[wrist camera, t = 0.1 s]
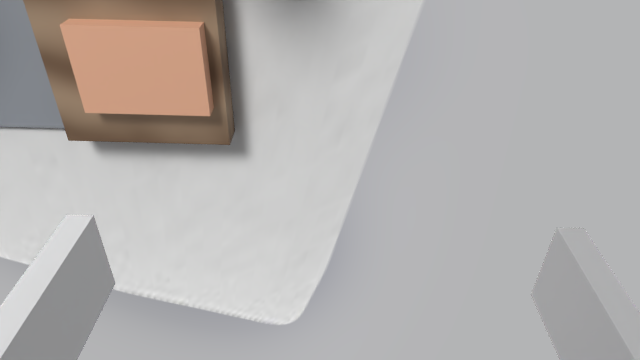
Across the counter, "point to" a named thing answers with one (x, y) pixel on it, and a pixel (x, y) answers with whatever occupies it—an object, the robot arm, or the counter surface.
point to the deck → (134, 4)
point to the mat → (23, 73)
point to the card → (140, 66)
